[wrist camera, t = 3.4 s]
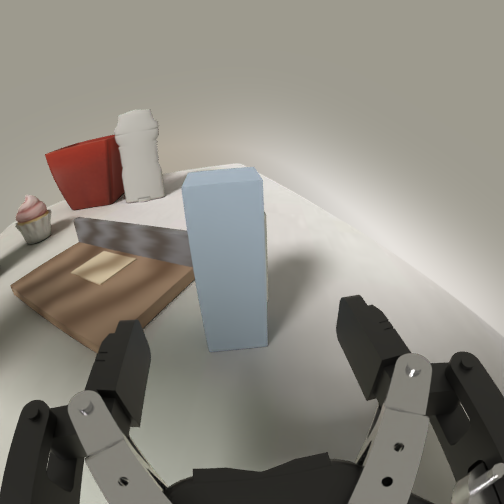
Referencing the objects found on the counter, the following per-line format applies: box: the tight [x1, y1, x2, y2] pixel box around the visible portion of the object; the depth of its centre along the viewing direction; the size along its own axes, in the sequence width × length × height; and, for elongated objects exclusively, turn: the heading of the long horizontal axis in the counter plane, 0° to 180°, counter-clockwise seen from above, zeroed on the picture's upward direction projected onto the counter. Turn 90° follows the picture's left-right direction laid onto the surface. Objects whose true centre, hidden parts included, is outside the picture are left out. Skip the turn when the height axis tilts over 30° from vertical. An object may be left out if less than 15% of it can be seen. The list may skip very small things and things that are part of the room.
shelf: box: [11, 217, 195, 353], centre depth 32 cm, size 24×17×6 cm
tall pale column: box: [114, 110, 165, 203], centre depth 62 cm, size 11×4×22 cm, turn 102°
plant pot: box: [45, 135, 125, 210], centre depth 67 cm, size 19×19×17 cm
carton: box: [181, 167, 268, 352], centre depth 23 cm, size 5×4×14 cm
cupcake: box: [15, 195, 51, 244], centre depth 48 cm, size 9×9×10 cm
